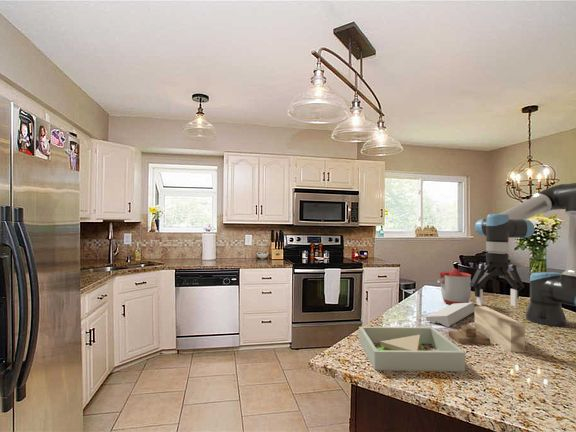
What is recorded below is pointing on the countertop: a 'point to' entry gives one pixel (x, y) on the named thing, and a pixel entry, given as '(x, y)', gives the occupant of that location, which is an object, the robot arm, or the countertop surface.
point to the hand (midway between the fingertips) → (496, 305)
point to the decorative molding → (451, 313)
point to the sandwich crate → (440, 360)
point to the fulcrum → (469, 336)
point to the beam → (500, 328)
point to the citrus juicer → (455, 286)
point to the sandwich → (402, 344)
